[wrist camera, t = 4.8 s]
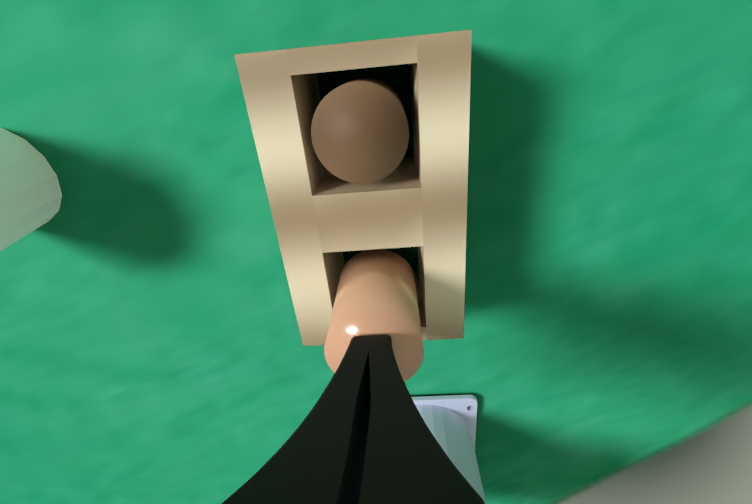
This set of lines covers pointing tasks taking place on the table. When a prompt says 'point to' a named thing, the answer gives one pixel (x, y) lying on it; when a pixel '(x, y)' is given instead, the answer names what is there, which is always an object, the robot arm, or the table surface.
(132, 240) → the table surface
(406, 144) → the walnut peg
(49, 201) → the white cup
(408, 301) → the terracotta peg
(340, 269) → the maple block
